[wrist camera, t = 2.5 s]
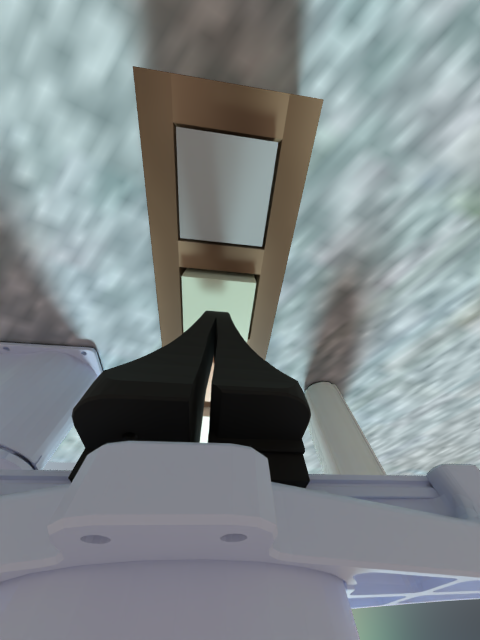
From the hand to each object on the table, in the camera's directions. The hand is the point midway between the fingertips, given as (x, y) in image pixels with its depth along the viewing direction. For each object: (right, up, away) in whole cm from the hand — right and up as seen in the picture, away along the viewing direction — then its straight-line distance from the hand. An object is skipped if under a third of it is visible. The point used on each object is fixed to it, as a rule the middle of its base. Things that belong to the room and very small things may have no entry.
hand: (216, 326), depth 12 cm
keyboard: (-1, +1, +8) cm, 8 cm away
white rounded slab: (+12, -11, +15) cm, 22 cm away
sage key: (0, +2, +3) cm, 4 cm away
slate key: (0, +7, 0) cm, 7 cm away
